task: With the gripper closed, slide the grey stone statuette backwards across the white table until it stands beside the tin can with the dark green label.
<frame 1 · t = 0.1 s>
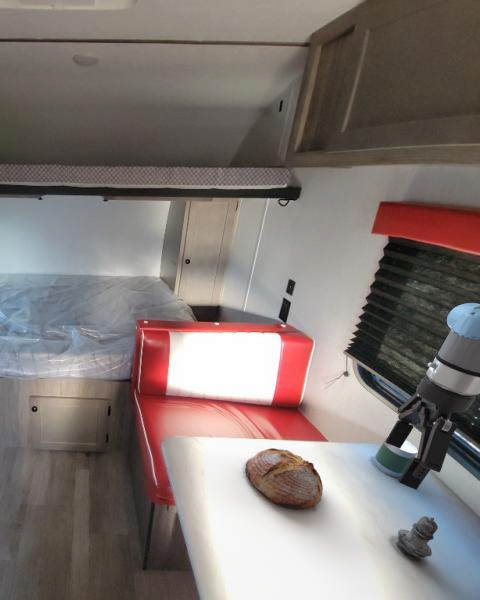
hand: (399, 463, 74), 22 cm above the table, tool pointing down, fingers open, 13 cm apart
tin can: (386, 468, 102), on the table
grey stone statuette: (406, 552, 78), on the table
bread: (280, 484, 92), on the table
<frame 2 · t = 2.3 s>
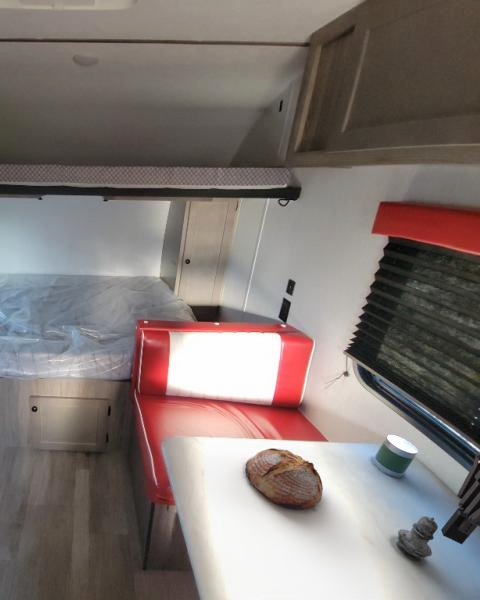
hand: (451, 536, 66), 15 cm above the table, tool pointing down, fingers closed
nothing on the table moved.
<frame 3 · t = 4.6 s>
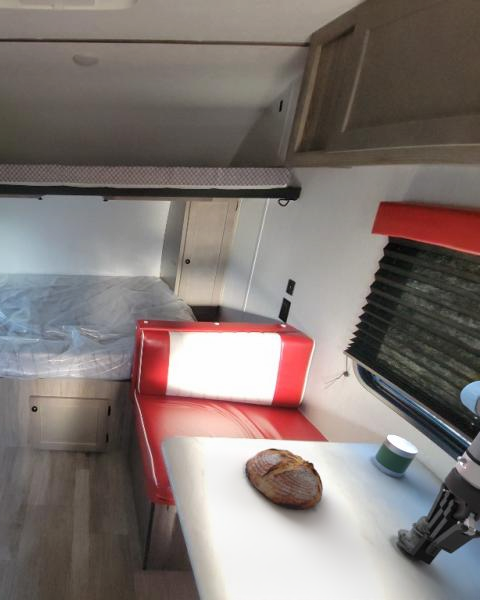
hand: (420, 557, 73), 4 cm above the table, tool pointing down, fingers closed
grey stone statuette: (406, 552, 78), on the table, touching gripper
everything else where it was.
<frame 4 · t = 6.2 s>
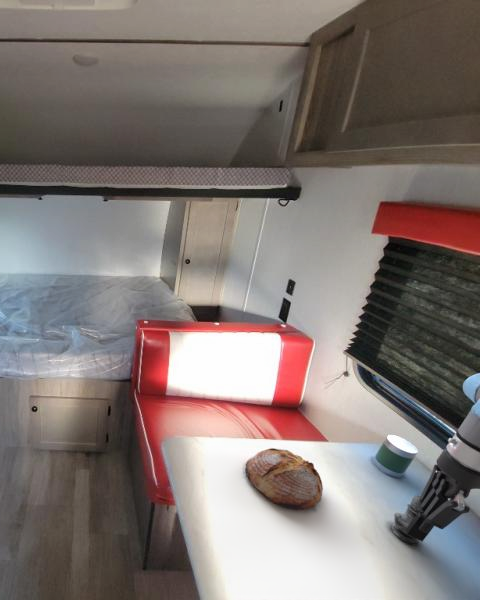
hand: (413, 535, 78), 4 cm above the table, tool pointing down, fingers closed
grey stone statuette: (403, 535, 82), on the table, touching gripper
everything else where it was.
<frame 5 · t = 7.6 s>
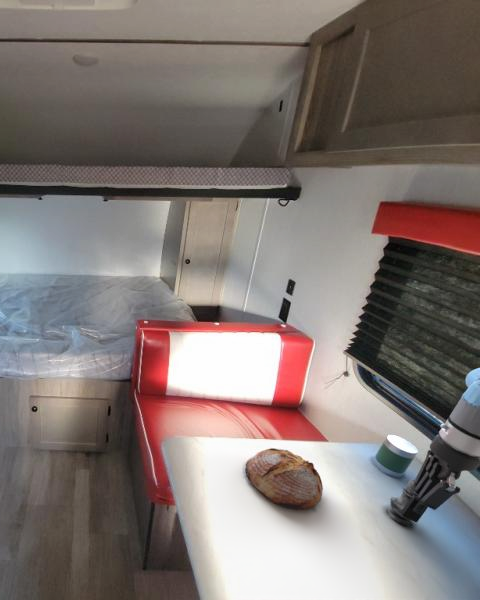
hand: (408, 517, 82), 4 cm above the table, tool pointing down, fingers closed
grey stone statuette: (398, 518, 86), on the table, touching gripper
everything else where it was.
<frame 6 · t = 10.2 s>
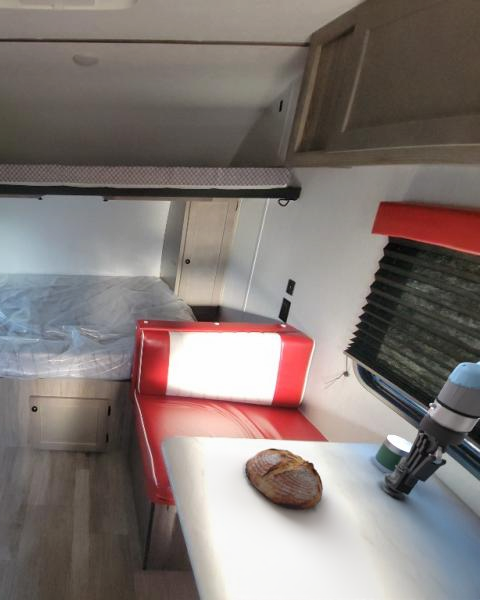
hand: (401, 490, 90), 4 cm above the table, tool pointing down, fingers closed
grey stone statuette: (392, 492, 94), on the table, touching gripper
everything else where it was.
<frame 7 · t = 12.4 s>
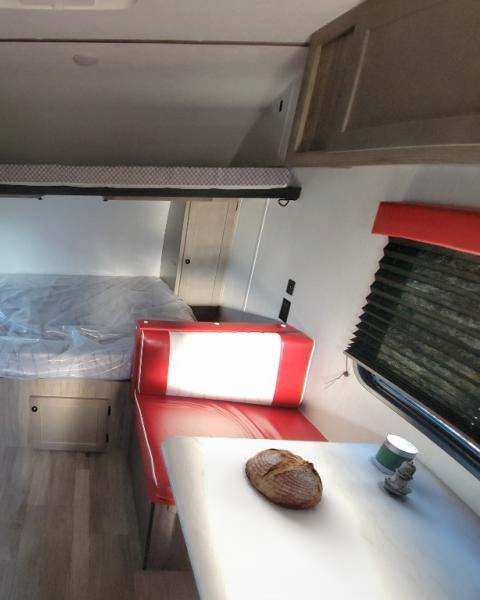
grey stone statuette: (391, 493, 94), on the table
everything else where it was.
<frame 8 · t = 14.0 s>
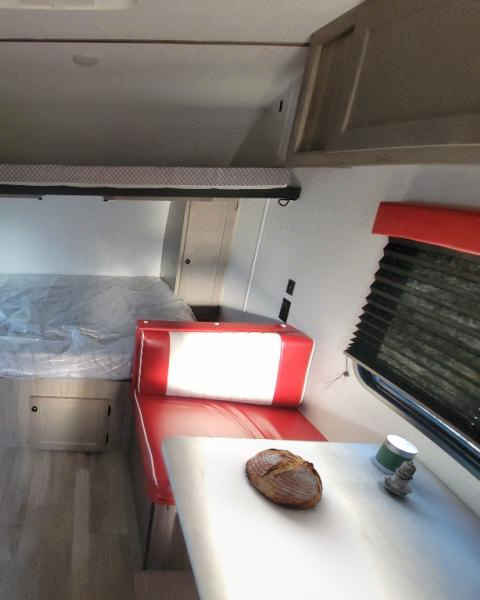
nothing on the table moved.
at the end: grey stone statuette 10.8 cm from the tin can (horizontally); grey stone statuette moved 19.6 cm from its start; grey stone statuette tilted 0° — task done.
